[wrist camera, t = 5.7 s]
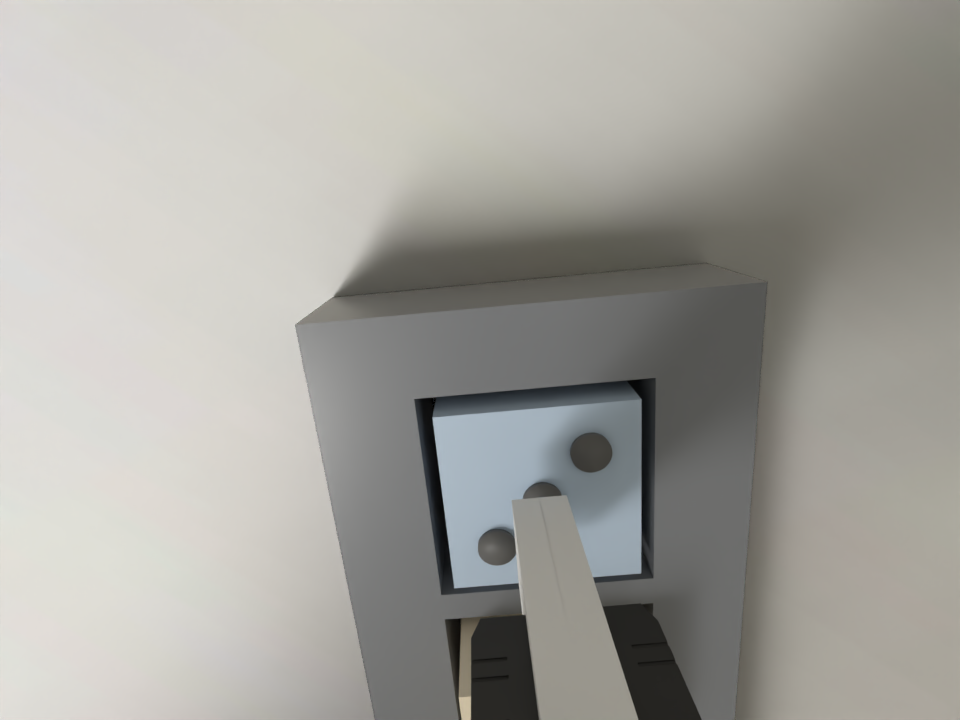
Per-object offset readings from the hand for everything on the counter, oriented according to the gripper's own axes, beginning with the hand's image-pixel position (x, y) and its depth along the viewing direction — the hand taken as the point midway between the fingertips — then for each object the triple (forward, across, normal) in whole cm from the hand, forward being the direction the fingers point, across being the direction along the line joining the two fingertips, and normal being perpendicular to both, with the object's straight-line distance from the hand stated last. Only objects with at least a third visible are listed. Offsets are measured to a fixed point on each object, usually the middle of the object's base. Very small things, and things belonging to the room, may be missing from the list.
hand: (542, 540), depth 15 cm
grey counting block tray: (+6, 0, -8) cm, 10 cm away
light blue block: (+6, 0, 0) cm, 6 cm away
